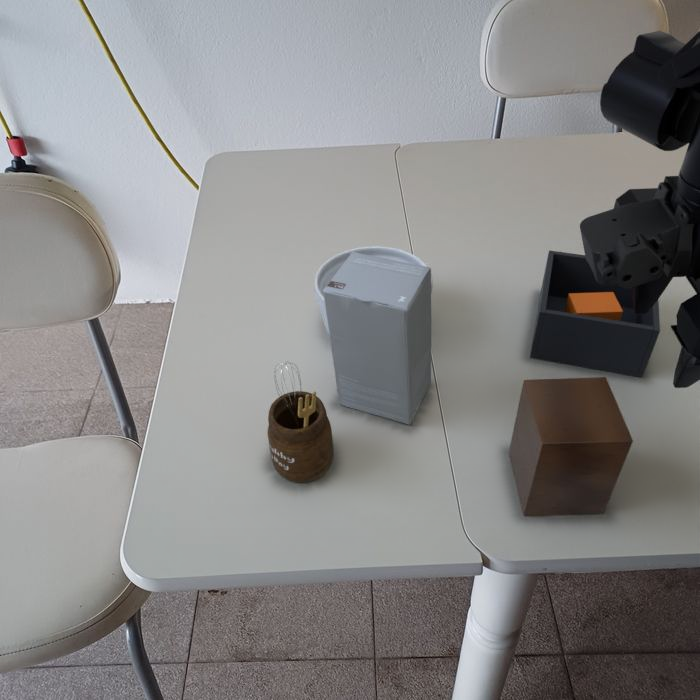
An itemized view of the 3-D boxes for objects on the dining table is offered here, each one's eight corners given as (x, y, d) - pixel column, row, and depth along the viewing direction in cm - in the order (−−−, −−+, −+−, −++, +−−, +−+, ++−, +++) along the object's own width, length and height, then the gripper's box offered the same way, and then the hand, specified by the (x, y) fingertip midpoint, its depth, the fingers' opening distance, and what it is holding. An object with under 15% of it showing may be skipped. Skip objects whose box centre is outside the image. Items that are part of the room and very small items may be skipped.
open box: (640, 310, 77) (656, 264, 72) (642, 377, 68) (660, 330, 64) (539, 295, 79) (549, 250, 75) (529, 358, 71) (539, 311, 67)
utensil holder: (317, 427, 65) (307, 338, 57) (346, 471, 61) (340, 382, 53) (263, 450, 63) (245, 361, 55) (289, 497, 59) (273, 409, 51)
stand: (581, 450, 62) (606, 376, 55) (603, 514, 57) (633, 440, 50) (508, 453, 62) (523, 379, 55) (523, 516, 57) (542, 443, 50)
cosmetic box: (431, 386, 69) (440, 263, 58) (407, 433, 64) (412, 309, 53) (359, 364, 72) (354, 243, 61) (330, 408, 67) (320, 285, 56)
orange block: (605, 319, 75) (613, 291, 72) (614, 339, 72) (623, 311, 70) (561, 320, 75) (568, 293, 72) (569, 340, 72) (576, 313, 70)
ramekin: (294, 331, 76) (289, 283, 71) (366, 278, 83) (365, 232, 79) (382, 381, 69) (382, 332, 65) (452, 319, 77) (456, 271, 72)
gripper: (570, 125, 51) (538, 284, 62) (654, 260, 37) (594, 435, 48) (712, 119, 51) (655, 280, 61) (850, 254, 37) (746, 431, 48)
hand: (658, 347), depth 54 cm, fingers open, 9 cm apart
